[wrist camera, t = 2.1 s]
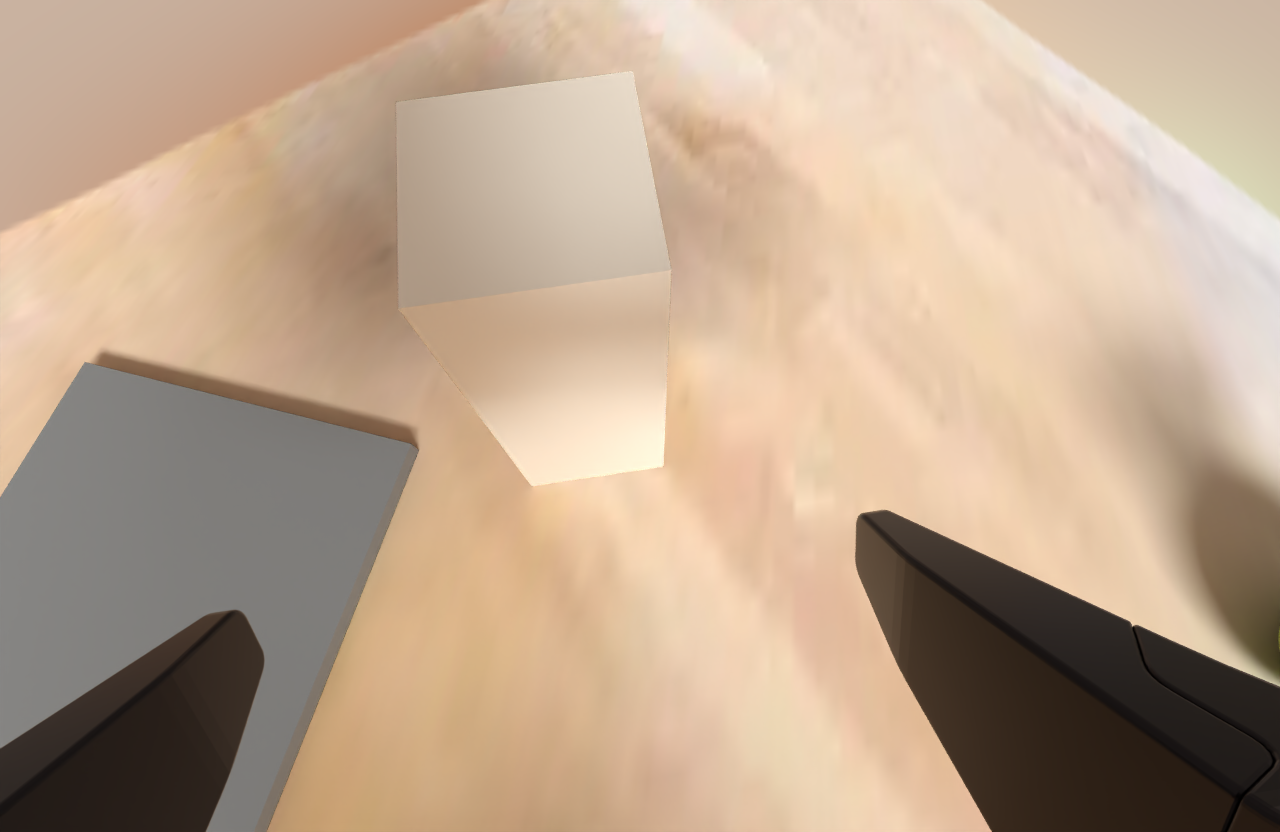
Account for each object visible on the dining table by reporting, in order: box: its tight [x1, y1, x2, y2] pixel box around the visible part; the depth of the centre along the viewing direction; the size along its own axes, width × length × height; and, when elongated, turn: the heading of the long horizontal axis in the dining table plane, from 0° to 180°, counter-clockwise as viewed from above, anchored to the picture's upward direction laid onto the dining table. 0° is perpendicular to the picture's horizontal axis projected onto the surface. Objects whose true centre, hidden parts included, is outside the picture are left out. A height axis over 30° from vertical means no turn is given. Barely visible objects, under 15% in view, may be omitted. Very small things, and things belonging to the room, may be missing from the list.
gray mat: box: [0, 362, 419, 832], centre depth 22 cm, size 14×14×1 cm
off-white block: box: [396, 71, 672, 486], centre depth 18 cm, size 5×5×13 cm
